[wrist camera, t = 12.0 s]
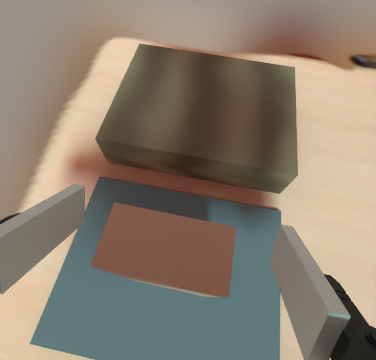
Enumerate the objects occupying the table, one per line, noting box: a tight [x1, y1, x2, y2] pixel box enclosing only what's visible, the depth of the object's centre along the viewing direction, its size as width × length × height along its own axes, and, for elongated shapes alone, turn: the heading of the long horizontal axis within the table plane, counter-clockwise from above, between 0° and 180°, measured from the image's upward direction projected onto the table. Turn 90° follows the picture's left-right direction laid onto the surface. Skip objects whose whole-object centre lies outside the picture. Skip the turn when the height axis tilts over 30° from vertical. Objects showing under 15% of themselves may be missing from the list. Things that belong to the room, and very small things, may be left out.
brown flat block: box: [95, 44, 298, 194], centre depth 25 cm, size 18×14×4 cm
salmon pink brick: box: [91, 202, 236, 298], centre depth 15 cm, size 6×3×10 cm, turn 78°
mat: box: [30, 177, 281, 360], centre depth 19 cm, size 18×14×1 cm
